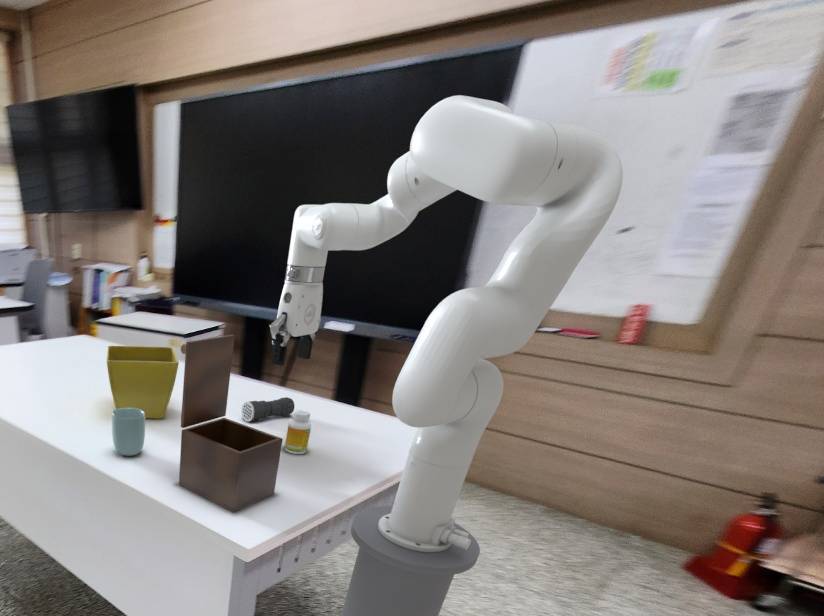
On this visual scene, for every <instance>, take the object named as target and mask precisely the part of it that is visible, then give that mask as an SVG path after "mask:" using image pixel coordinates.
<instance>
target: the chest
mask: <svg viewBox="0 0 824 616" xmlns="http://www.w3.org/2000/svg"><path fill="white" fill-rule="evenodd" d="M180 439H181V440H180V441H181V442H180V453H179V454H180V455H179V474H178V475H179V478H178V485H179V486H180V487H183V488H184V489H187V490H188V491H190V492H192V493H195V494H196V495H197V496H200V497H202V498H204V499H206V500H209V501H210V502H211V503H214V504H216V505H218V506H220V507H221V508H224V509H225V510H227V511H230V512H231V513H236V512H238V511H240V510H243V509H245V508H247V507H249V506H251V505H253V504H254V505H255V504H256V503H258V502H260V501H262V500H265V499H267V498H269V497H271V496H273V495H275V490H276V483H277V477H278V471H279V465H280V459H281V453H282V446H283V439H284V438H282V437H280V436H276V435H273V434H271V433H268V432H266V431H263V430H260V429H257V428H254V427H251V426H248V425H246V424H243V423H240V422H238V421H234V420H232V419H229V418H227V417H220V418H217V419H213V420H210V421H206V422H203V423H200V424H196V425H193V426H189V427H186V428H182V429H181V438H180Z"/></svg>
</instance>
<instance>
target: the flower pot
mask: <svg viewBox="0 0 824 616" xmlns="http://www.w3.org/2000/svg"><path fill="white" fill-rule="evenodd" d="M179 362H180V361H179V359H178V357H177V354H176V352H175V350H174V348H173V347H171V346H143V345H142V346H141V345H140V346H139V345H138V346H137V345H108V346H107V354H106V367H107V375H108V380H109V386H110V392H111V397H112V399H113V404H114V407H115V409H119V408H138V409H141V410H143V411H144V413H145V419H157V420H158V419H160V420H161V419H163V418H164V416H165V414H166V411H167V409H168V407H169V403H170V401H171V397H172V394H173V390H174V387H175V384H176V379H177V374H178V369H179Z"/></svg>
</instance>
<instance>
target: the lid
mask: <svg viewBox="0 0 824 616" xmlns="http://www.w3.org/2000/svg"><path fill="white" fill-rule="evenodd" d="M234 344H235V335H234V334H227V335H221V336H215V337H207V338H202V339H196V340H189V341H186V343H184V344H181V346H180V353H181V354H183V355H185V357H184V370H183V372H184V373H183V386H182V399H181V401H182V402H181V403H182V404H181V414H180V415H181V417H180V428H182V429H186V428H190V427H193V426H197V425H200V424H204V423H207V422H210V421H214V420H217V419H221V418H224V417H226V415H227V408H228V407H227V406H228V398H229V389H230V381H231V372H232V362H233V353H234Z"/></svg>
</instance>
